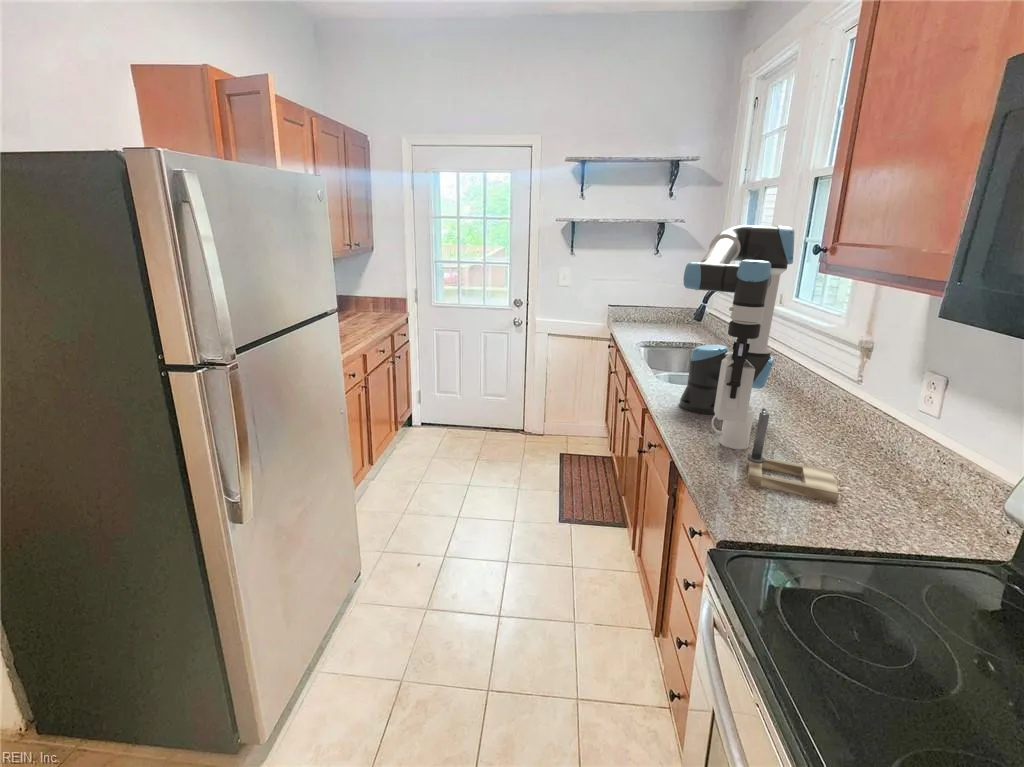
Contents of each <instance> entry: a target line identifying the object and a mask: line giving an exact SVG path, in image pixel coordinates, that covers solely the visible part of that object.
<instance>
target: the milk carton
mask: <svg viewBox="0 0 1024 767" xmlns="http://www.w3.org/2000/svg"><path fill="white" fill-rule="evenodd" d="M732 355H733V353H730V354H728V355H727V356H726V358H724V359H723V360H722V362H721V368H720V374H719V381H718V387H717V393H716V400H715V406H714V413H715V414H714V415H716V419H717V420H718V421H723V420H727V421H737V422H746V418H747V412H748V407H749V406H750V400H751V396H752V395H751V394H752V390H753V388H752V384H753V379H754V373H755V368H754V367H753V366H752V365H751V364H750V363H749V362H748V361H747V360H746V359H745V360H746V361H745V362H744V365H743V370H742V376H741V382H740V383H741V385H740V390H739V396H738V402H737V408H736V410H731V409H725V406H726V400H727V394H728V388H729V386H727V383H729V382H730V380H731V374H732V368H733V362H734V361H733V360H732ZM736 382H738V381H736Z"/></svg>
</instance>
